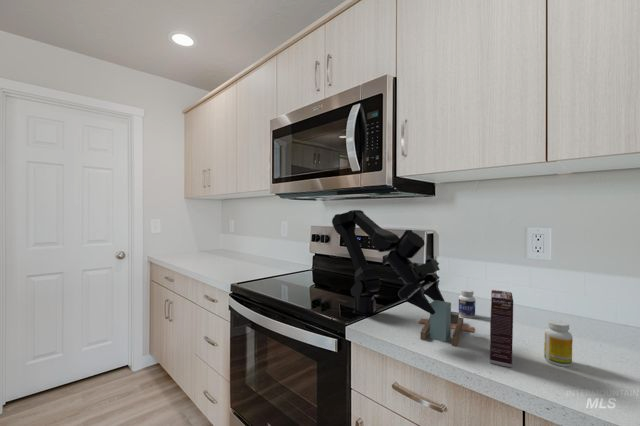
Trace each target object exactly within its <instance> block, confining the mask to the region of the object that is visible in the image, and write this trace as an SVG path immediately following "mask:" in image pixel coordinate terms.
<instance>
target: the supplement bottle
mask: <svg viewBox="0 0 640 426" xmlns="http://www.w3.org/2000/svg"><path fill="white" fill-rule="evenodd" d="M547 324H548V328H546V329H544V344H543V345H544V350H543V353H544V355H543V356H544V357H543V358H544V360H545V361H546V362H548V363H550V364H552V365H555V366H558V367H562V368H564V367H565V368H567V367H571V366H572V364H573V335H572V333H571V332H570V331H569V330H570V324H569V323H568V322H567V321H563V320H558V319H549V320H548V323H547Z"/></svg>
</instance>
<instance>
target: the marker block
mask: <svg viewBox="0 0 640 426" xmlns="http://www.w3.org/2000/svg"><path fill="white" fill-rule="evenodd" d="M444 301H445V300H444ZM444 301H439V300H435V301H434V300H432V301H431V302H429V303H430V304H431V306H432V307H433V309H434V311H435V313H434V314H433V315H432V314H430V313H429V318H430V332H429V339H432V340H435V341H440V342H444V343H446V342H448V341H449V340H450V339H452V336H451V333H452V332H451V331H452V329H451V324H452V323H451V311H452V303H451V302H449V301H445V302H444Z"/></svg>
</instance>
